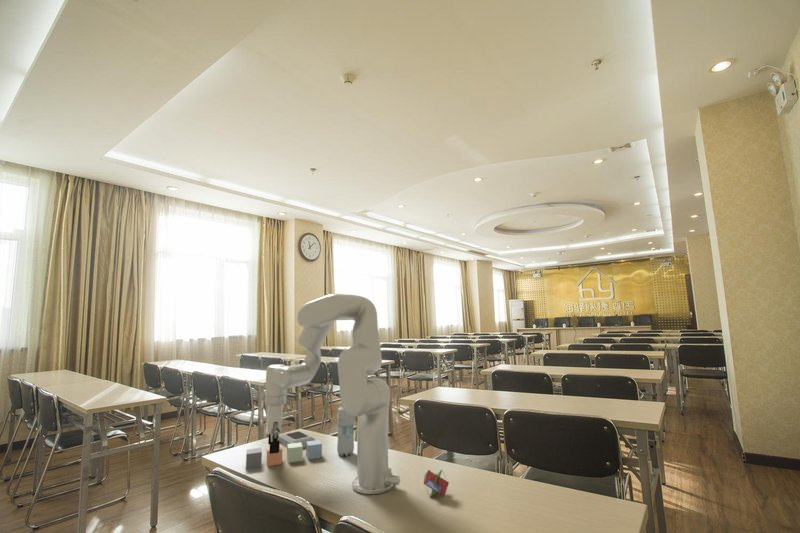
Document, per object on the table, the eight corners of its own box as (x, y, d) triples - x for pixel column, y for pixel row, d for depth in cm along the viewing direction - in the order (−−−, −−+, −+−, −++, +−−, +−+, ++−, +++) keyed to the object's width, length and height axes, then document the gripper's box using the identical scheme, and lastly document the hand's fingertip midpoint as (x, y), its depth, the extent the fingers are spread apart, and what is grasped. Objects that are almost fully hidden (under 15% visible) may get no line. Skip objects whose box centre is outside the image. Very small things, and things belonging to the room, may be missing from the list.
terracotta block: (281, 459, 136) (281, 444, 137) (282, 464, 132) (282, 449, 132) (266, 461, 134) (267, 446, 135) (267, 466, 130) (267, 451, 130)
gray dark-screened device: (299, 428, 163) (315, 436, 151) (299, 437, 162) (315, 446, 151) (278, 433, 156) (293, 441, 145) (278, 442, 156) (293, 451, 145)
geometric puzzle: (457, 485, 107) (441, 459, 110) (449, 495, 101) (432, 467, 104) (439, 497, 109) (423, 472, 112) (430, 508, 103) (414, 480, 106)
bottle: (335, 452, 142) (335, 398, 145) (352, 450, 144) (352, 396, 147) (337, 458, 136) (338, 401, 138) (356, 456, 138) (356, 400, 140)
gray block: (260, 462, 134) (261, 447, 134) (261, 467, 129) (261, 452, 130) (246, 464, 132) (246, 449, 132) (245, 469, 127) (246, 454, 128)
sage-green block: (300, 456, 139) (301, 442, 140) (302, 460, 134) (302, 446, 135) (286, 458, 137) (287, 444, 138) (288, 463, 132) (288, 448, 133)
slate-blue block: (319, 453, 141) (319, 439, 142) (321, 458, 137) (321, 443, 137) (306, 455, 140) (306, 441, 140) (307, 460, 135) (308, 445, 136)
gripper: (264, 395, 143) (261, 442, 141) (265, 405, 127) (263, 458, 125) (284, 393, 146) (282, 439, 143) (288, 403, 130) (286, 455, 127)
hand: (273, 448), depth 134 cm, fingers open, 9 cm apart
